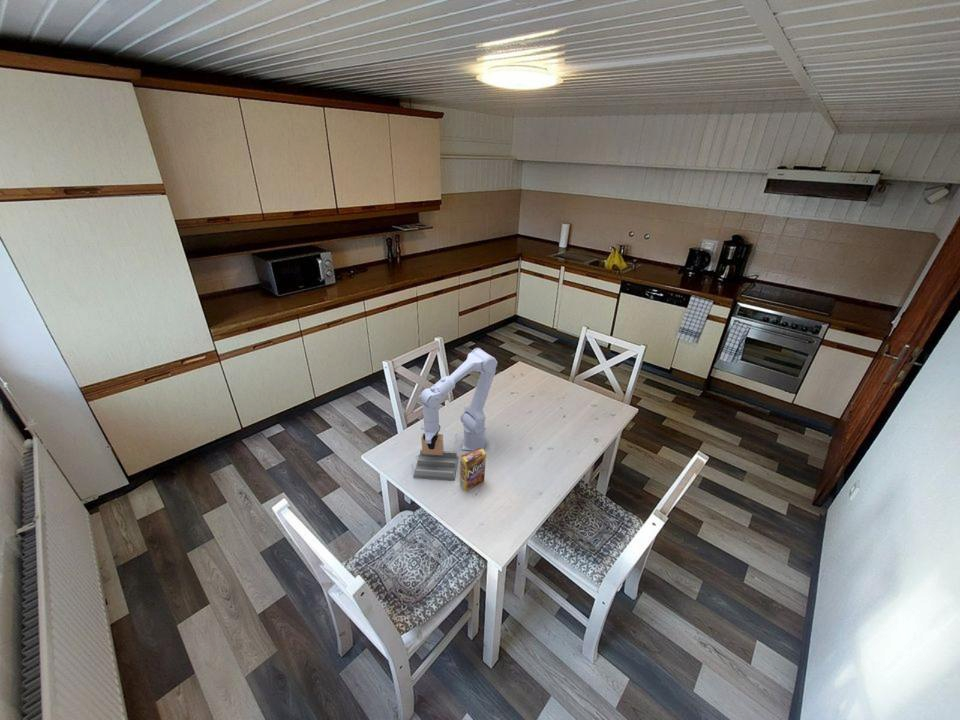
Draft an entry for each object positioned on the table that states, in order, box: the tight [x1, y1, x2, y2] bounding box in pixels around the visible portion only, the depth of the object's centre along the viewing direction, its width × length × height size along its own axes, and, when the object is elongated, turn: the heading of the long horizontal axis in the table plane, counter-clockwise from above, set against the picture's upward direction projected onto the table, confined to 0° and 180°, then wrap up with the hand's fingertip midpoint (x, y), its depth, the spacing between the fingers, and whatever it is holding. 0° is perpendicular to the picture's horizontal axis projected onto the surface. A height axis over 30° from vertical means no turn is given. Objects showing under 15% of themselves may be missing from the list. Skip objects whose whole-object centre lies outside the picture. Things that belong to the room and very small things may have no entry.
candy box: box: [459, 447, 487, 492], centre depth 144 cm, size 9×4×15 cm, turn 123°
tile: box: [421, 432, 445, 455], centre depth 152 cm, size 8×3×8 cm, turn 85°
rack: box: [412, 449, 459, 481], centre depth 154 cm, size 16×12×4 cm
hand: (432, 445), depth 152 cm, fingers closed on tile, 3 cm apart
